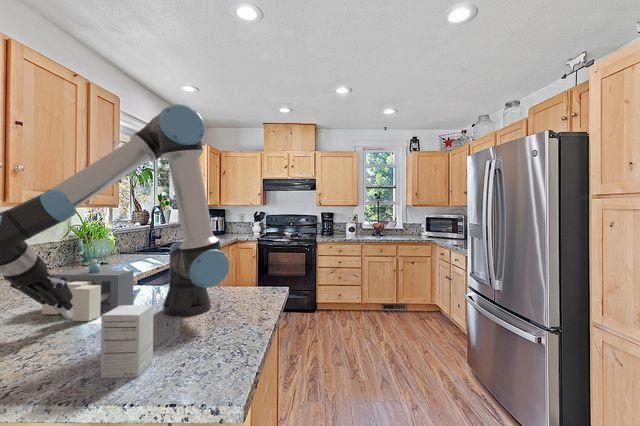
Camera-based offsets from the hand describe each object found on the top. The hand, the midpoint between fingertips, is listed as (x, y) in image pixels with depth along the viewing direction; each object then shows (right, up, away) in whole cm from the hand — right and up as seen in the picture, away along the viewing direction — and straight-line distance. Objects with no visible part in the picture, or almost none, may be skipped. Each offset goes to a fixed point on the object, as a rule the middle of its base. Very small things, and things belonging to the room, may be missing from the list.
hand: (71, 313), depth 93 cm
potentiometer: (-7, +8, +19) cm, 22 cm away
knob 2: (0, -3, +10) cm, 10 cm away
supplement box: (+31, -4, -26) cm, 41 cm away
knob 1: (-14, -3, +16) cm, 21 cm away
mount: (-7, -4, +16) cm, 18 cm away
